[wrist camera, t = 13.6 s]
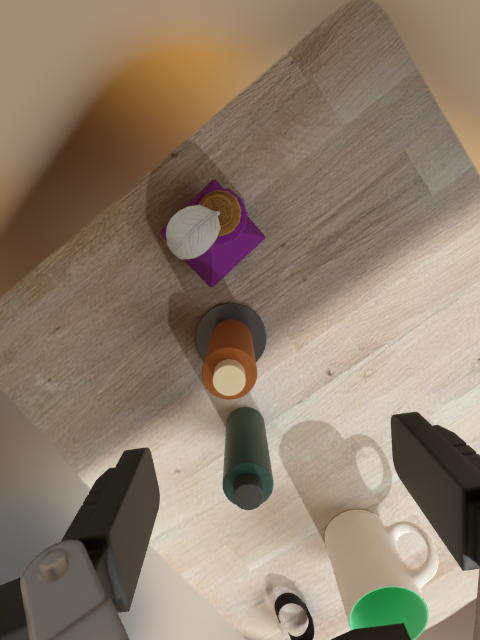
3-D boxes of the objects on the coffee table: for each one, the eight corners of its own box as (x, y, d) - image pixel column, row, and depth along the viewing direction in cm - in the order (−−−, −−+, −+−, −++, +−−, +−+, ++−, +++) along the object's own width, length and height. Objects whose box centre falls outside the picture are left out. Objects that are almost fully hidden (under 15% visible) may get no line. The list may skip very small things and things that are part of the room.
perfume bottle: (216, 183, 37) (196, 128, 19) (263, 238, 38) (286, 232, 20) (165, 233, 38) (102, 224, 20) (213, 285, 39) (193, 318, 21)
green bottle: (222, 437, 43) (216, 514, 31) (231, 403, 42) (228, 468, 30) (259, 445, 43) (267, 524, 31) (268, 411, 42) (281, 479, 30)
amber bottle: (207, 353, 40) (194, 401, 28) (216, 315, 39) (206, 347, 27) (246, 362, 41) (250, 413, 28) (256, 324, 40) (264, 359, 27)
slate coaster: (189, 362, 41) (189, 363, 41) (204, 296, 39) (203, 296, 39) (256, 377, 41) (256, 378, 41) (273, 312, 40) (274, 312, 39)
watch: (265, 595, 48) (267, 623, 44) (296, 583, 48) (301, 610, 44) (288, 635, 49) (292, 666, 46) (319, 623, 49) (325, 653, 46)
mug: (385, 479, 44) (430, 550, 34) (422, 520, 46) (476, 599, 36) (311, 534, 46) (333, 616, 36) (349, 572, 47) (380, 662, 37)
